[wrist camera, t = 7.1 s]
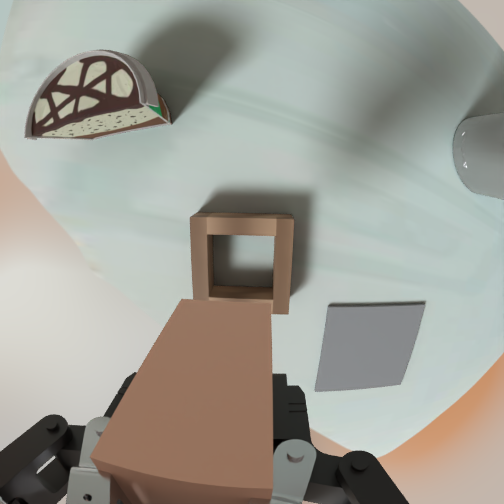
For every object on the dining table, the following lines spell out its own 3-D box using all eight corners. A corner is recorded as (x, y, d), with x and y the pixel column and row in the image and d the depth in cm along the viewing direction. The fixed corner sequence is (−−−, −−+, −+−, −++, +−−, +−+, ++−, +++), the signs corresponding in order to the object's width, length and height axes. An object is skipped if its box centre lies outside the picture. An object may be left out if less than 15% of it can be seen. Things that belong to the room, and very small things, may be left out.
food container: (185, 65, 24) (150, 24, 15) (186, 122, 26) (148, 100, 16) (82, 91, 25) (24, 73, 15) (81, 142, 27) (20, 139, 17)
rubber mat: (423, 303, 30) (424, 304, 30) (399, 382, 33) (400, 384, 33) (327, 305, 30) (328, 307, 30) (314, 389, 34) (315, 391, 33)
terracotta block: (270, 302, 15) (273, 488, 5) (267, 373, 16) (263, 538, 6) (181, 299, 15) (89, 456, 5) (188, 368, 16) (135, 519, 6)
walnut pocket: (291, 214, 28) (294, 219, 25) (286, 301, 30) (288, 314, 28) (197, 212, 28) (189, 217, 25) (200, 297, 31) (194, 310, 28)
